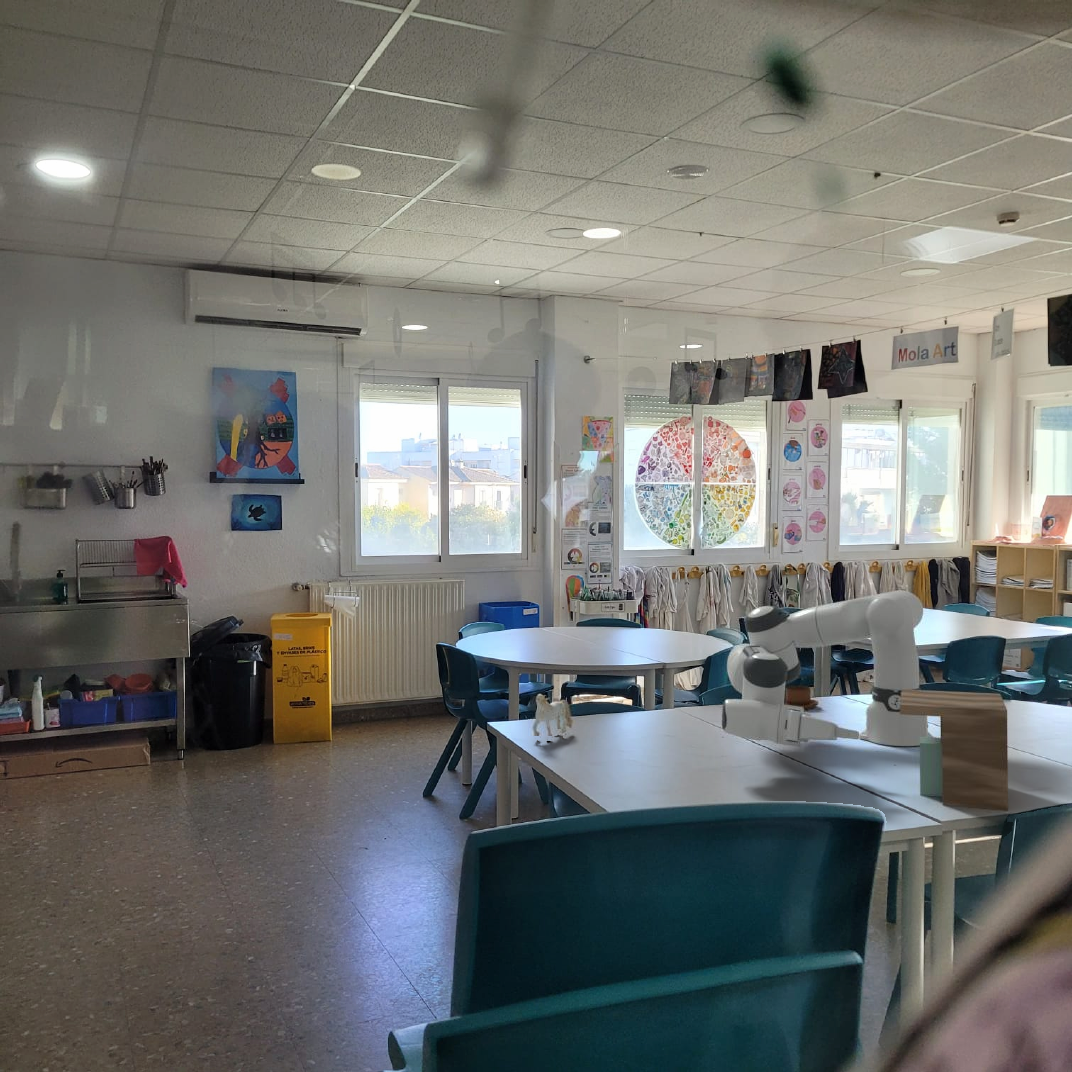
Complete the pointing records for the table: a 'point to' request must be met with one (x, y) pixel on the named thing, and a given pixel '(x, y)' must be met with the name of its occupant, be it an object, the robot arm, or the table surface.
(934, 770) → the upright mint green block
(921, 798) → the table surface
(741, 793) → the table surface
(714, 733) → the table surface
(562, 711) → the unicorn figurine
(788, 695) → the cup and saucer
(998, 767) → the cubby
